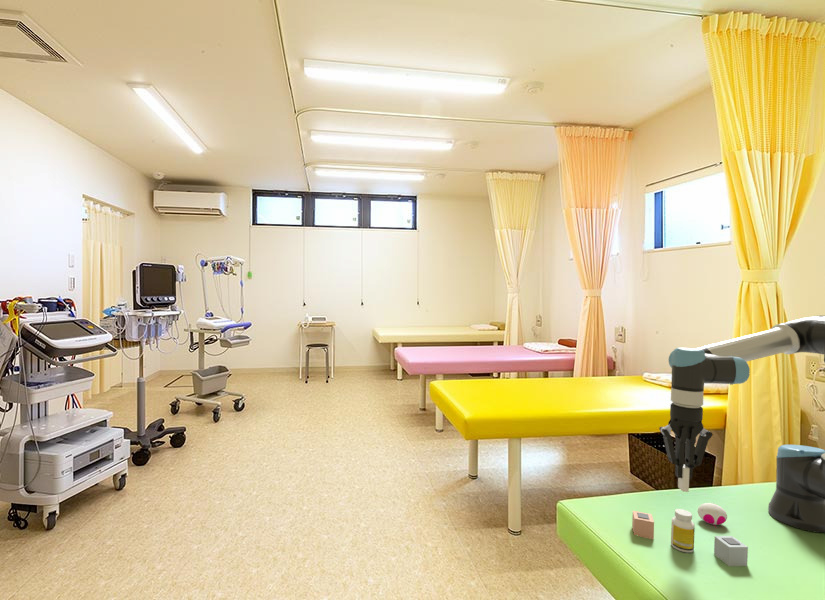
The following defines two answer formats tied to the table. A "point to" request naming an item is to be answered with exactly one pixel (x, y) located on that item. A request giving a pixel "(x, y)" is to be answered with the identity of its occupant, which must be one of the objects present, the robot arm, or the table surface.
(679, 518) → the supplement bottle
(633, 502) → the table surface
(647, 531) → the terracotta block
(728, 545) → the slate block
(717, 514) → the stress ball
